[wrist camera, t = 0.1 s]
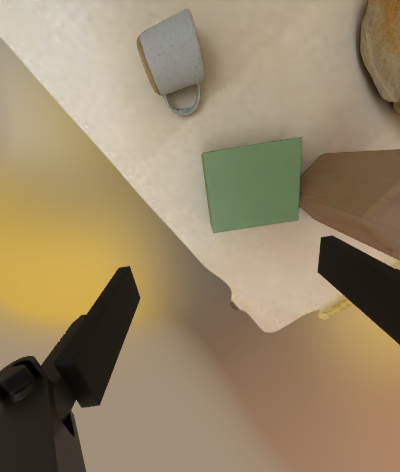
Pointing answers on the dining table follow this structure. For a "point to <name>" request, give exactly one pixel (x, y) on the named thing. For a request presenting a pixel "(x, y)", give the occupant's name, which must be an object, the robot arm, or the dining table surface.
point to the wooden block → (357, 196)
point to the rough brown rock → (383, 47)
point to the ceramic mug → (173, 57)
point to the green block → (253, 184)
